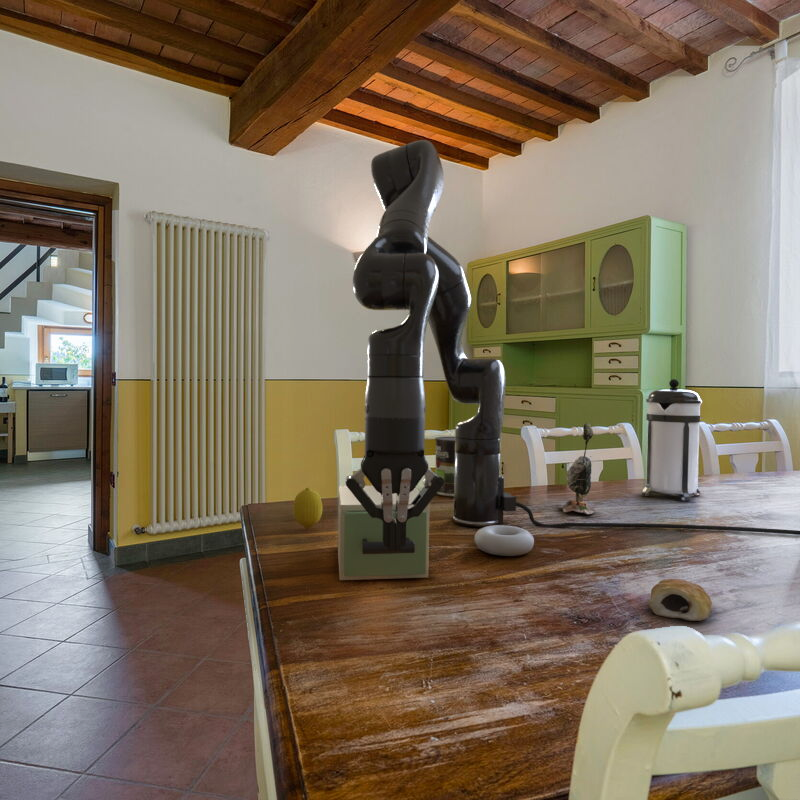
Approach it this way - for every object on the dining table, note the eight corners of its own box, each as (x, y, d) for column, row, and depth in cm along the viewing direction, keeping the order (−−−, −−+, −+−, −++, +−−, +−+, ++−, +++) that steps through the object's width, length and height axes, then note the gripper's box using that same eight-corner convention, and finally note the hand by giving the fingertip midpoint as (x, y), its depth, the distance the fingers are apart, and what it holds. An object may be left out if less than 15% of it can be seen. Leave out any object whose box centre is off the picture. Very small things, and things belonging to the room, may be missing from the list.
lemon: (316, 534, 105) (316, 491, 105) (288, 532, 106) (288, 489, 106) (326, 526, 110) (326, 485, 110) (299, 524, 112) (299, 484, 111)
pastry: (660, 591, 78) (661, 564, 78) (716, 603, 74) (718, 574, 74) (646, 613, 70) (647, 583, 70) (707, 628, 66) (709, 596, 66)
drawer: (431, 584, 77) (432, 519, 77) (345, 587, 75) (345, 521, 75) (411, 546, 95) (412, 493, 94) (341, 548, 93) (342, 494, 93)
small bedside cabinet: (428, 577, 82) (429, 503, 82) (339, 580, 81) (340, 504, 80) (413, 547, 97) (413, 485, 97) (337, 549, 95) (338, 485, 95)
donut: (462, 546, 99) (498, 562, 90) (463, 526, 99) (498, 540, 90) (508, 540, 103) (546, 553, 94) (508, 521, 103) (546, 533, 94)
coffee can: (446, 498, 139) (447, 440, 139) (427, 490, 149) (428, 437, 148) (482, 495, 143) (483, 439, 143) (462, 488, 153) (463, 436, 152)
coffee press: (720, 502, 138) (724, 379, 137) (654, 501, 138) (657, 378, 137) (685, 489, 155) (688, 379, 155) (626, 488, 156) (629, 379, 155)
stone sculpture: (600, 508, 130) (603, 421, 129) (591, 518, 120) (593, 424, 119) (565, 504, 134) (566, 419, 133) (552, 513, 124) (554, 422, 123)
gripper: (440, 411, 76) (439, 540, 77) (341, 411, 74) (340, 542, 75) (453, 415, 68) (451, 557, 69) (343, 415, 67) (342, 560, 67)
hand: (393, 549), depth 72 cm, fingers closed
